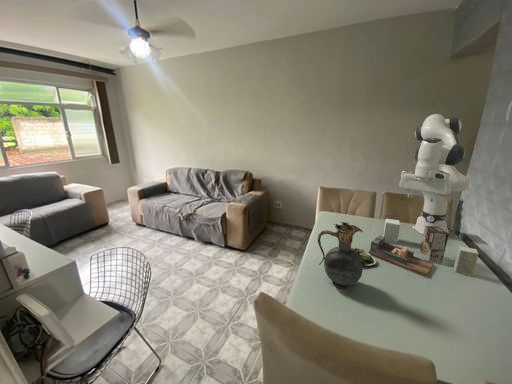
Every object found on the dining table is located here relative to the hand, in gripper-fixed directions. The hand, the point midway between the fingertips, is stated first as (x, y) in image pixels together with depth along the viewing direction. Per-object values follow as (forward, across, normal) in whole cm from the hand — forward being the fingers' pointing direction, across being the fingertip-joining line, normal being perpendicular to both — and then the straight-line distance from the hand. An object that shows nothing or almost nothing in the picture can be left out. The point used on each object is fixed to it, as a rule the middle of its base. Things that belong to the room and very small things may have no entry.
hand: (420, 199), depth 108 cm
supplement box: (+31, -13, +8) cm, 35 cm away
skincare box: (+31, +21, 0) cm, 38 cm away
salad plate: (+32, -17, -26) cm, 44 cm away
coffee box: (+31, +8, +4) cm, 33 cm away
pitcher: (+31, -14, -50) cm, 61 cm away
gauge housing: (+31, -2, -10) cm, 33 cm away
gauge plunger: (+29, -2, -11) cm, 32 cm away
